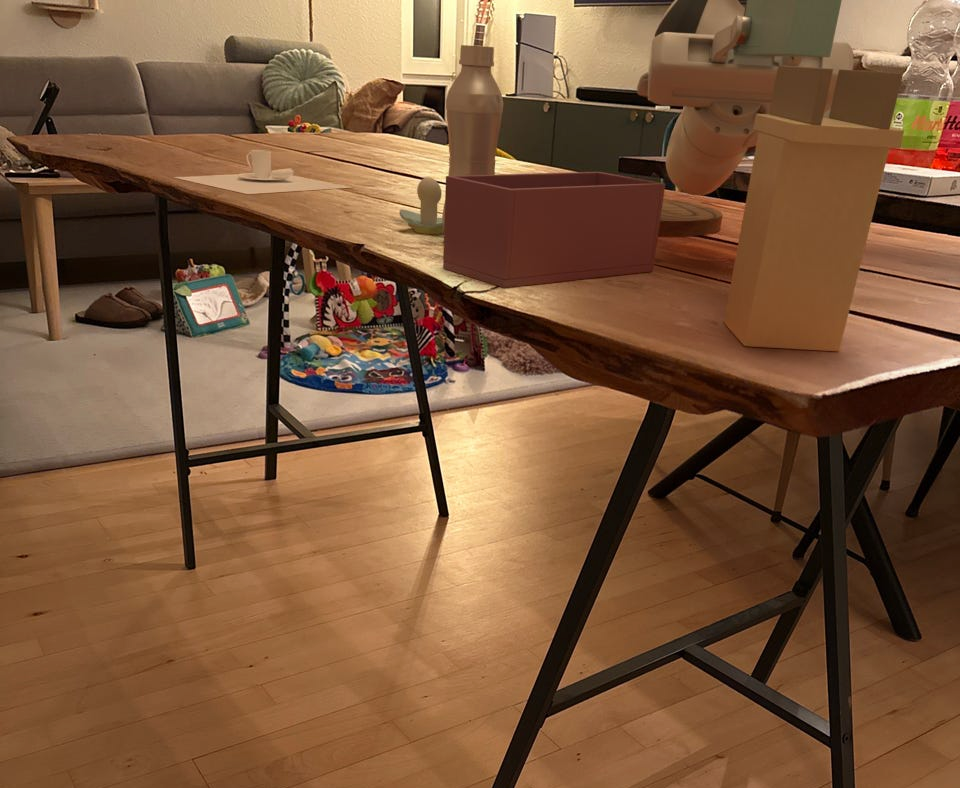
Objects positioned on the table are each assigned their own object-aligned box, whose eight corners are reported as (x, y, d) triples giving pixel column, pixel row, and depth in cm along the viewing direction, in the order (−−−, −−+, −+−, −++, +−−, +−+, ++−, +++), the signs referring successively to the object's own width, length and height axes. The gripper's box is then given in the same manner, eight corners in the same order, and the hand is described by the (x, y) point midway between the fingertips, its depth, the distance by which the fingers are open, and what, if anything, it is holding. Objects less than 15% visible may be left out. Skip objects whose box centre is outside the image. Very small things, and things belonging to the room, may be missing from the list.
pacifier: (410, 226, 123) (395, 232, 118) (411, 172, 120) (396, 175, 115) (465, 232, 122) (452, 237, 117) (468, 177, 119) (454, 181, 114)
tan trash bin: (718, 317, 88) (764, 64, 78) (805, 322, 89) (862, 70, 78) (749, 352, 78) (807, 67, 68) (847, 358, 78) (919, 74, 68)
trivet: (576, 234, 124) (577, 218, 123) (523, 205, 145) (524, 191, 144) (751, 238, 130) (754, 222, 129) (677, 209, 151) (679, 196, 150)
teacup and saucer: (301, 182, 154) (300, 153, 151) (260, 184, 149) (258, 155, 146) (268, 175, 159) (267, 147, 156) (227, 177, 153) (225, 149, 151)
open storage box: (589, 254, 112) (598, 171, 108) (653, 271, 106) (665, 183, 101) (442, 268, 101) (445, 175, 96) (503, 288, 94) (510, 189, 90)
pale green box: (737, 54, 95) (747, -7, 92) (773, 56, 95) (784, -5, 92) (787, 54, 79) (800, -19, 77) (830, 57, 79) (845, -17, 77)
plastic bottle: (460, 250, 110) (468, 45, 100) (431, 239, 115) (436, 43, 105) (506, 247, 113) (519, 48, 103) (476, 237, 118) (485, 46, 108)
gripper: (634, 67, 104) (662, -17, 90) (823, 78, 104) (879, -3, 90) (632, 127, 104) (659, 52, 90) (819, 137, 104) (875, 65, 91)
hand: (771, 24), depth 90 cm, fingers closed on pale green box, 3 cm apart
